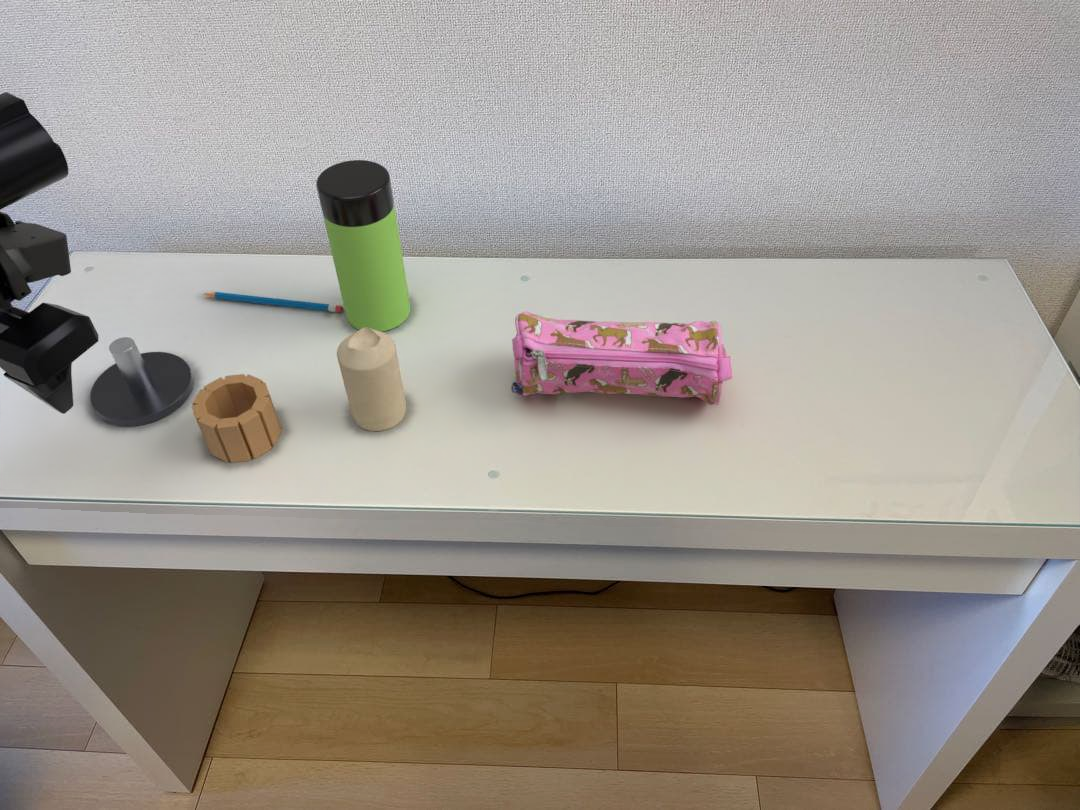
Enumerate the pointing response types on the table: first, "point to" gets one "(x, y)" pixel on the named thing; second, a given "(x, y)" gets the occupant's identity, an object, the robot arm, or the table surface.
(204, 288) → the table surface
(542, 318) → the pencil case
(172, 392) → the stand
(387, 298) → the tumbler
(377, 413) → the candle
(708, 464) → the table surface
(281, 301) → the pencil
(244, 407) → the wooden segmented ring
